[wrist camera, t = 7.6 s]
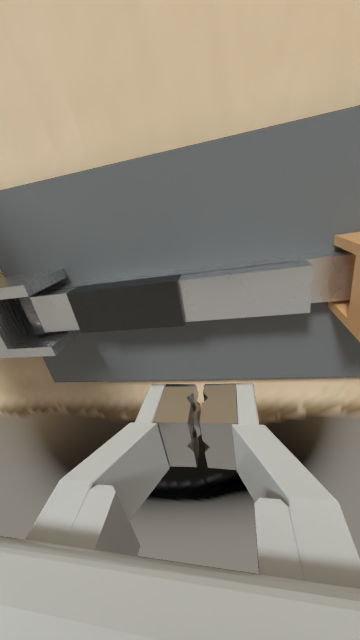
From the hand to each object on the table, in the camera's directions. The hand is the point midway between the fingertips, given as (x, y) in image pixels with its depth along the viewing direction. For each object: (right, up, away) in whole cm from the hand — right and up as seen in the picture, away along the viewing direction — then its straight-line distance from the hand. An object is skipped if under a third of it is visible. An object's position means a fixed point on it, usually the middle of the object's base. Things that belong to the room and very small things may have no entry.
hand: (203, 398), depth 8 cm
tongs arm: (-3, +4, +10) cm, 11 cm away
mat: (0, +6, +12) cm, 13 cm away
